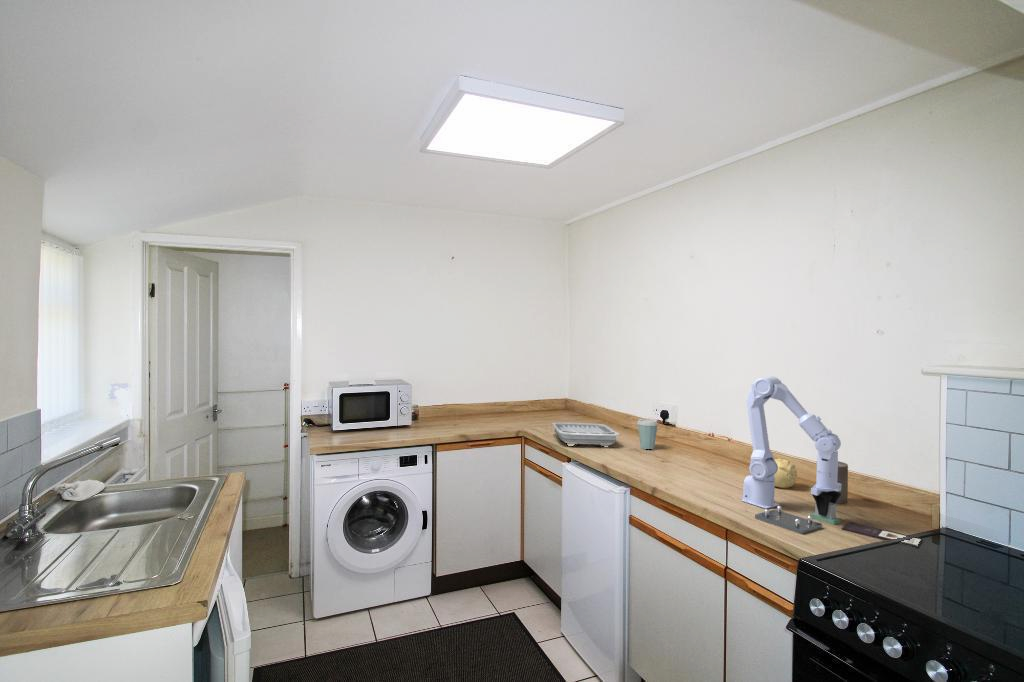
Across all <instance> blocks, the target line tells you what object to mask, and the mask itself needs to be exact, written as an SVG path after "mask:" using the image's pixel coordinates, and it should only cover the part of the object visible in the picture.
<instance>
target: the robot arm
mask: <svg viewBox="0 0 1024 682" xmlns="http://www.w3.org/2000/svg"><path fill="white" fill-rule="evenodd" d="M770 399H773V400H777V401H780V402H782V403H783V404H784V405H785V407H787V408H788V409H789V410H790V412H792V414H794V416H795V417H796V418H797V419H798V425H799V426H800V428H801V429H802V431H804V432H805V433H806V434H807V436H808V437H809V438H810V439H811V440H812V442H814V447H815V449H816V450H817V457H816V458H817V459H816V461H817V462H816V475H817V476H816V477H815V478H816V481H815V482H816V483H815V484H814V486H812V487H811V488H810V495H812V497H813V499H814V502H815V503H816V505H817V509H818V513H819V515H822V516H827V513H828V506H829V503H830V502H831V503H834V504H836V502H837V500H838V499H839V497H840V496H841V493H840V492H836V491H841V485H842V484H840V483H837V474H838V461H839V451H838V450H839V449H840V448H841V447H842V446H841V444H842V443H841V440H840V438H839V436H838V435H837V434H835V433H832V432H833V431H832V430H831V429H828V428H827V427H826V425H825V424H824V423H823V422H822V421H821V420H822V418H821V417H820V416H816V414H813V413H808V411H807V410H806V408H804V407H803V405H802V404H801V403H800V402H799V401H798V399H797V398H796V397H795V396H794V394H792V392H791V390H789V388H788V386H787V385H786V384H784V382H782V380H781V379H779V378H778V377H776V376H769V377H767V376H766V377H758V378H757V379H756V380H755V381H753V383H751V385H750V391H749V392H748V395H747V397H746V408H747V409H746V410H747V415H748V416H747V417H748V423H749V428H750V431H749V432H750V436H751V446H752V453H751V456H750V464H749V469H748V470H749V473H750V474H749V475H746V477H745V478H744V481H743V486H742V488H743V490H742V499H741V502H744V503H746V504H750V505H753V506H756V507H759V508H762V509H764V510H765V509H770V508H775V507H777V506H781V505H780V503H778V502H775V488H776V486H775V478H774V474H776V472H777V470H778V465H777V463H776V461H775V460H774V459H775V456H774V454H773V452H772V451H771V448H770V441H769V435H768V427H767V420H766V413H765V407H764V406H765V404H766V402H768V401H769V400H770Z"/></svg>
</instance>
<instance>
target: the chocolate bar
mask: <svg viewBox="0 0 1024 682" xmlns="http://www.w3.org/2000/svg"><path fill="white" fill-rule="evenodd" d="M841 531H845V532H849V533H853V534H858V535H861V536H865V537H870V538H874V539H878V540H881V541H885V540H892V539H897V538H903V537H906V536H910V535H909V534H904V533H900V532H895V531H892V530H888V529H884V528H880V527H874V526H871V525H866V524H863V523H857V522H854V521H848V522H847V523H846V524H845V525H844V526H842V527H841ZM916 537H917V536H916ZM921 539H922V538H921V537H917V538H912V539H910V540H904V541H901V542H899V543H902V544H905V545H909V546H912V547H911V548H913V547H915V548H914V549H917V548H918V546H919V545H920V543H921V542H922V540H921ZM920 541H921V542H920ZM919 542H920V543H919ZM918 544H919V545H918ZM905 545H904V546H905ZM909 546H908V547H909ZM916 547H917V548H916Z"/></svg>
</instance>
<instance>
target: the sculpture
mask: <svg viewBox="0 0 1024 682" xmlns="http://www.w3.org/2000/svg"><path fill="white" fill-rule="evenodd" d="M774 460H775V461H776V463H777V465H778V470H777V472H776V474H774V478H775V488H776V487H777V488H781V489H788V488H791V487H793V486H794V484H795V483H796V481H797V475H798V474H797V473H798V472H797V468H796V465H795V464H793V463H792V462H790V461H789V460H787V459H783V458H774Z"/></svg>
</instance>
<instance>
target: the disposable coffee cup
mask: <svg viewBox="0 0 1024 682" xmlns="http://www.w3.org/2000/svg"><path fill="white" fill-rule="evenodd" d="M636 424H637V430H638V437H639V445H640V449H641V448H643V449H653V450H654V449H655V444H656V437H657V432H658V425H659V423H658V421H657V419H655V418H640V419H638V421H637V423H636ZM643 449H642V450H643Z"/></svg>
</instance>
